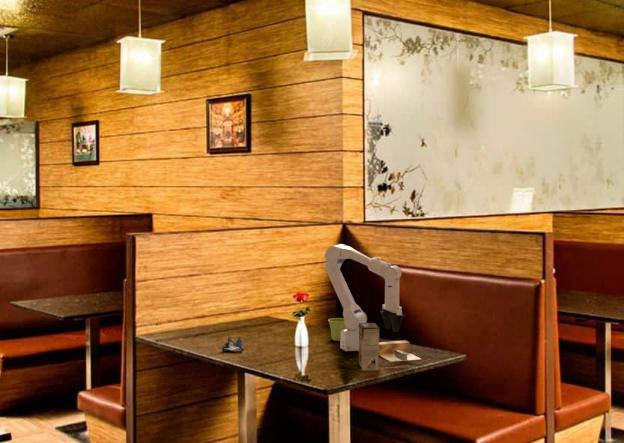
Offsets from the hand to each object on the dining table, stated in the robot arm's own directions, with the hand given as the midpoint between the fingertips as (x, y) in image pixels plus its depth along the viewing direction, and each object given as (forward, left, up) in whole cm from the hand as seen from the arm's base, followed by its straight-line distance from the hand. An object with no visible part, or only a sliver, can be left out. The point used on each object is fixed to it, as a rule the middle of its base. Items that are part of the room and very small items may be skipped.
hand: (391, 330), depth 321 cm
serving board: (0, -6, -10) cm, 11 cm away
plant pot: (-10, +33, -10) cm, 36 cm away
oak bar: (0, 0, -9) cm, 9 cm away
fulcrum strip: (0, -9, -10) cm, 13 cm away
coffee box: (-17, -17, -10) cm, 26 cm away
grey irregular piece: (-57, +27, -10) cm, 64 cm away
